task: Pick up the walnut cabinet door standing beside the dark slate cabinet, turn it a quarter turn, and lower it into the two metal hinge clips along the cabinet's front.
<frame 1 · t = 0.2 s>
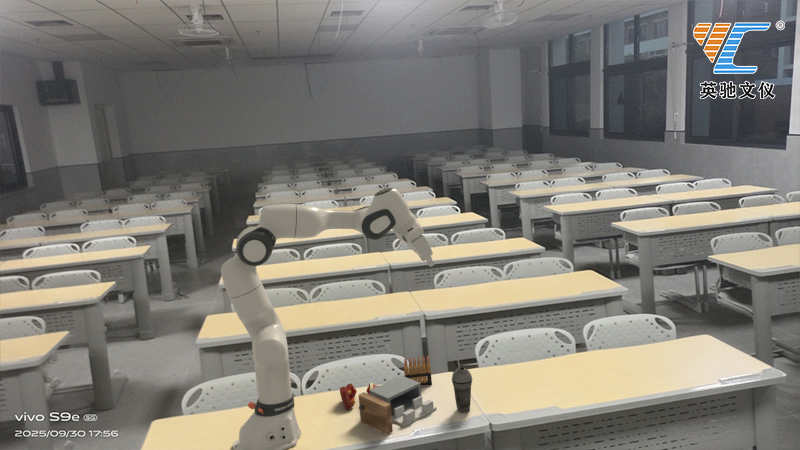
hand: (428, 262, 204), 54 cm above the table, tool tilted 30°, fingers open, 8 cm apart
teeth: (361, 403, 221), on the table
beverage cup: (463, 410, 210), on the table
cabinet: (396, 407, 215), on the table
door: (376, 426, 203), on the table
ammunition clip: (418, 385, 233), on the table
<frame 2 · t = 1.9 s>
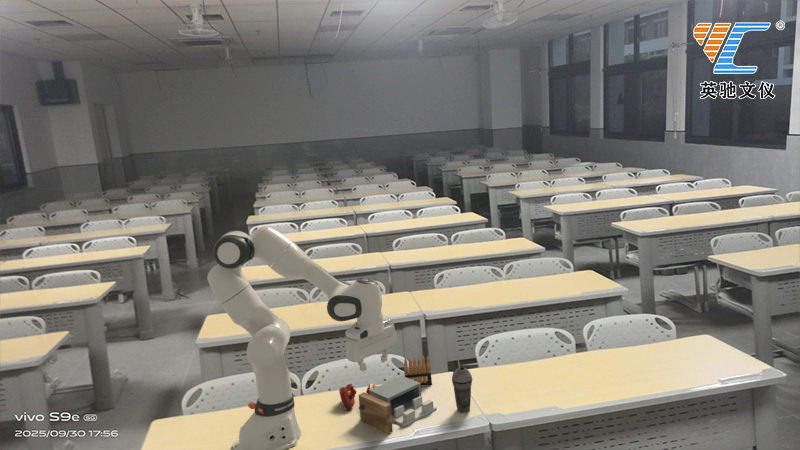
hand: (373, 365, 199), 22 cm above the table, tool pointing down, fingers open, 8 cm apart
nothing on the table moved.
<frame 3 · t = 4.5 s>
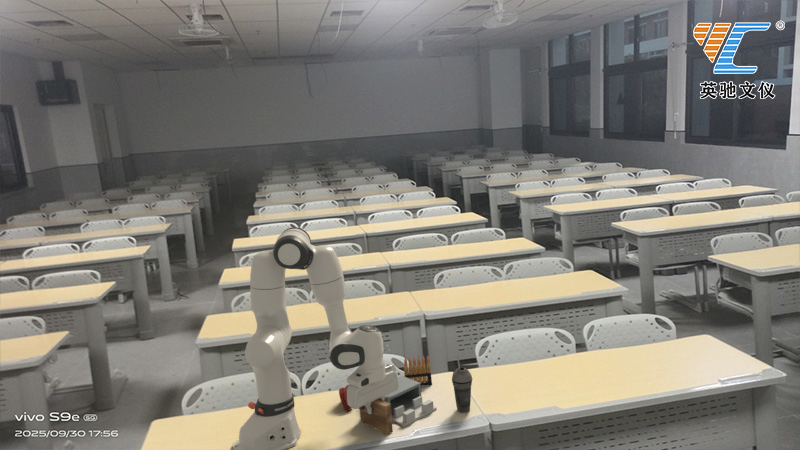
hand: (375, 411, 202), 6 cm above the table, tool pointing down, fingers closed on door, 2 cm apart
door: (376, 426, 203), on the table, touching gripper
everything else where it was.
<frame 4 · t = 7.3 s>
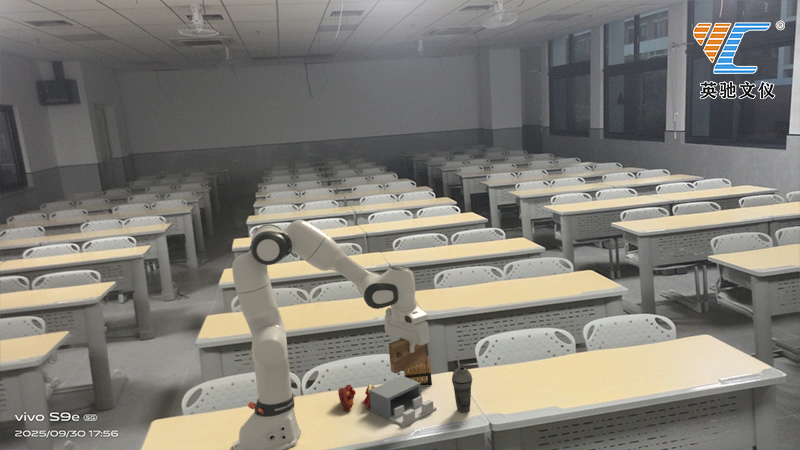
hand: (407, 350, 204), 24 cm above the table, tool pointing down, fingers closed on door, 2 cm apart
door: (409, 366, 205), point 18 cm above the table, touching gripper
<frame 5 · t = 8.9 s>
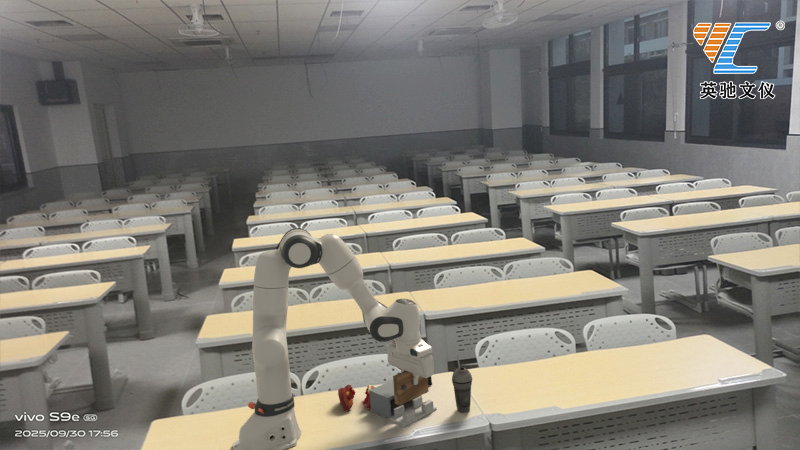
hand: (411, 382, 207), 12 cm above the table, tool pointing down, fingers closed on door, 2 cm apart
door: (412, 397, 208), point 6 cm above the table, touching gripper
when the fingers open (7 cm above the table, at t = 10.1 s): door stays where it is, resting on cabinet.
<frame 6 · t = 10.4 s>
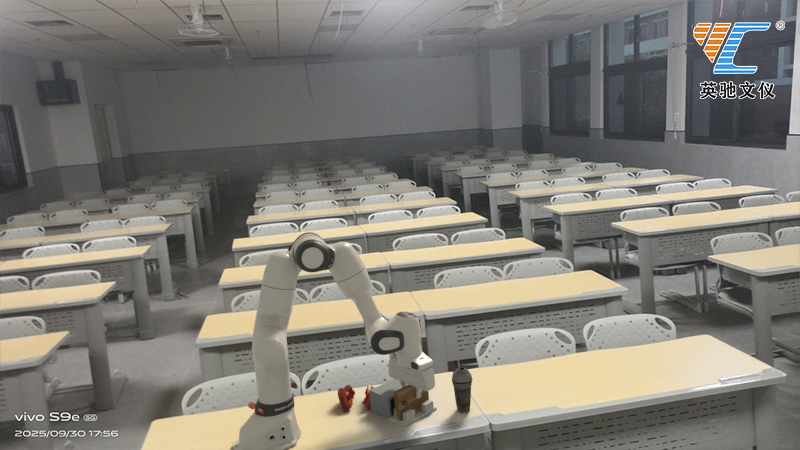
hand: (411, 395, 208), 7 cm above the table, tool pointing down, fingers open, 5 cm apart
door: (412, 412, 209), point 1 cm above the table, touching cabinet
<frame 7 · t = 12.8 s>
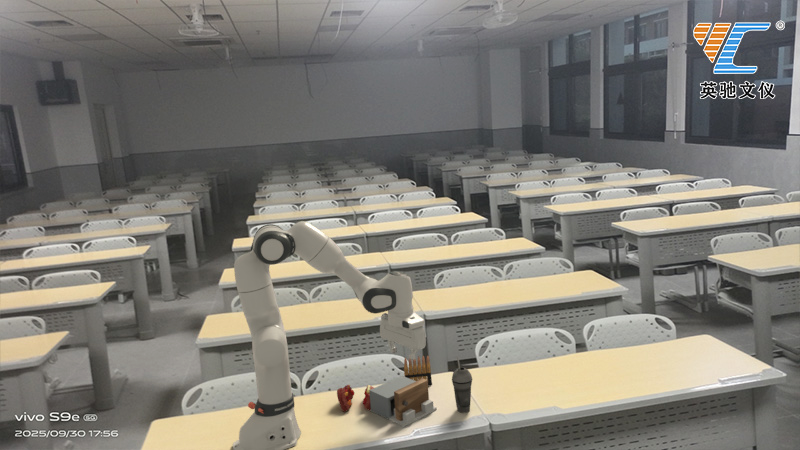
hand: (402, 355, 207), 22 cm above the table, tool pointing down, fingers open, 8 cm apart
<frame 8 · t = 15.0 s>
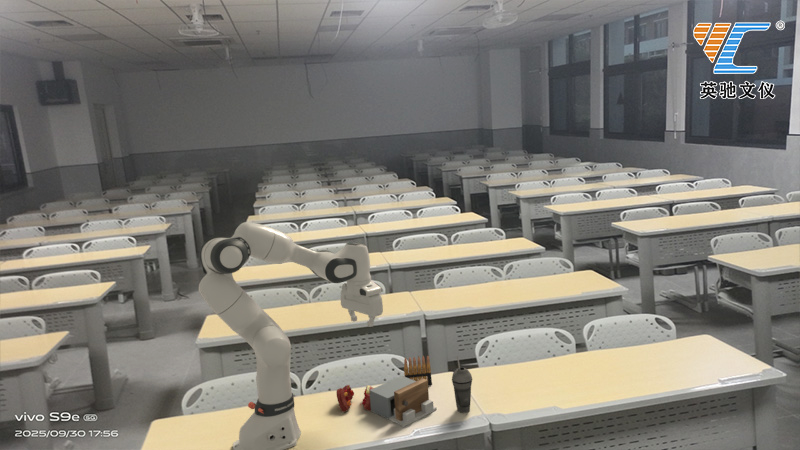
hand: (362, 323, 214), 31 cm above the table, tool pointing down, fingers open, 8 cm apart
at the end: door 0.1 cm from the target spot, point 0.8 cm above the table; door tilted 0°; the gripper is holding nothing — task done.
